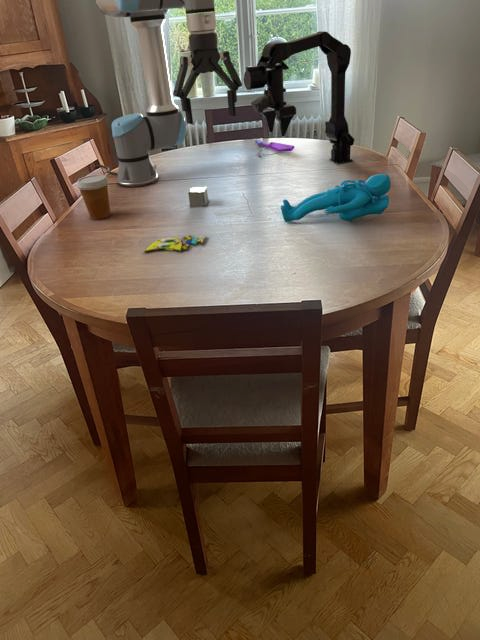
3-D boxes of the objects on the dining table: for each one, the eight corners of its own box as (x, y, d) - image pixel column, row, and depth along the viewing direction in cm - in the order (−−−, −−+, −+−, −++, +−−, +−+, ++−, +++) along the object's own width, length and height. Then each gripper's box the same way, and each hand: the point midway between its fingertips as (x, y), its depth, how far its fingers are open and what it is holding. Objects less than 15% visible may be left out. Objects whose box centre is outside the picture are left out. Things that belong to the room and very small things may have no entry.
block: (205, 206, 154) (204, 191, 152) (190, 207, 155) (188, 192, 153) (208, 201, 159) (206, 186, 156) (193, 201, 159) (191, 187, 157)
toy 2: (284, 188, 143) (387, 162, 133) (293, 221, 149) (393, 198, 138) (276, 209, 130) (390, 181, 120) (286, 244, 135) (397, 221, 125)
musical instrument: (281, 159, 196) (302, 141, 209) (280, 154, 195) (302, 136, 207) (233, 159, 209) (255, 142, 221) (232, 155, 208) (255, 137, 220)
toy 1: (199, 248, 125) (143, 249, 127) (199, 251, 125) (144, 252, 127) (206, 233, 133) (154, 234, 135) (206, 236, 133) (154, 237, 136)
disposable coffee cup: (79, 220, 152) (69, 182, 146) (97, 209, 159) (88, 173, 153) (104, 222, 149) (94, 184, 142) (121, 211, 156) (113, 174, 150)
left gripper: (163, 37, 117) (176, 128, 129) (250, 27, 127) (255, 113, 138) (152, 37, 123) (166, 125, 135) (237, 28, 133) (242, 110, 144)
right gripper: (242, 86, 167) (245, 133, 175) (265, 91, 152) (268, 142, 161) (270, 82, 170) (272, 128, 178) (296, 87, 155) (297, 137, 164)
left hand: (211, 119), depth 136 cm, fingers open, 13 cm apart
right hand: (276, 134), depth 170 cm, fingers open, 9 cm apart
